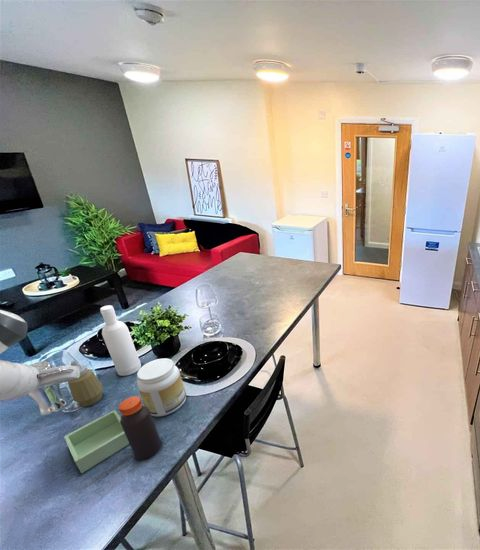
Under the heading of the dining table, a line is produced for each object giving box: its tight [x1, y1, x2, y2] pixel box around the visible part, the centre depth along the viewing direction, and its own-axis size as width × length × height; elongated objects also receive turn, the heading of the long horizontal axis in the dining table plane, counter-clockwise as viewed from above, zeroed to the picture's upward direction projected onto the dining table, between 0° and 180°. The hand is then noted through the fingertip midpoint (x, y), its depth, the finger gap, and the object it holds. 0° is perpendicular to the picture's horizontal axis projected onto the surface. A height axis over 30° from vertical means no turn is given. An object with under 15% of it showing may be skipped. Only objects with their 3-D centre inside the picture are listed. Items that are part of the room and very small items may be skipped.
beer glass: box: [27, 361, 69, 416], centre depth 86 cm, size 7×7×15 cm
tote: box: [63, 409, 130, 474], centre depth 90 cm, size 13×13×5 cm
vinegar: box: [118, 395, 162, 461], centre depth 86 cm, size 7×7×20 cm
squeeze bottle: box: [67, 360, 104, 407], centre depth 102 cm, size 8×8×18 cm
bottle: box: [99, 304, 142, 377], centre depth 114 cm, size 8×8×30 cm
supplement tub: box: [136, 357, 187, 417], centre depth 102 cm, size 12×12×17 cm
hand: (43, 384), depth 86 cm, fingers closed on beer glass, 7 cm apart
